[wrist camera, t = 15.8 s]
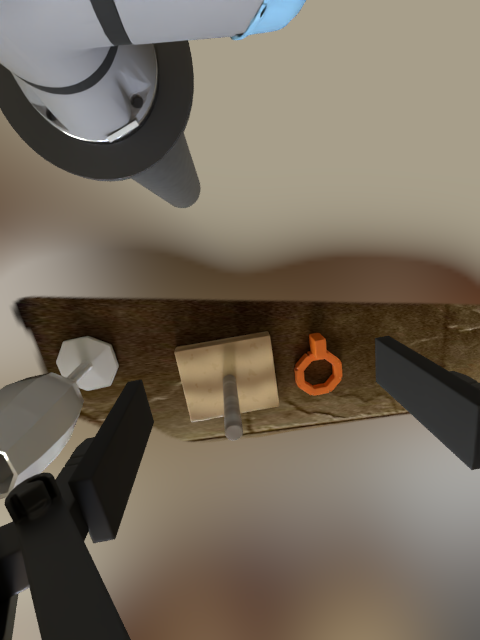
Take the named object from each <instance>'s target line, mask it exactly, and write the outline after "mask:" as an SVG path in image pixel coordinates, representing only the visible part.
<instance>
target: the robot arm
mask: <svg viewBox="0 0 480 640" xmlns="http://www.w3.org/2000/svg"><path fill="white" fill-rule="evenodd" d="M305 1H306V0H0V64H2V65H3V66H4V67H6V68H7V69H8V70H10V71H11V73H12V74H13V76H14V78H15V80H16V81H17V83H18V85H19V86H20V88H21V90H22V91H23V93H24V94H25V96H26V98H27V99H28V100H29V102H30V103H31V104H32V105H33V107H34V108H35V109H36V110H37V111H38V112H39V113H40V114H41V115H42V116H43V117H44V118H45V119H46V120H47V121H48V122H49V123H50V124H52V125H53V126H54V127H56V128H57V129H59V130H60V131H62V132H63V133H65V134H67V135H68V136H70V137H72V138H74V139H77V140H79V141H82V142H85V143H90V144H97V145H106V144H113V143H117V142H120V141H123V140H125V139H127V138H129V137H131V136H132V135H134V134H135V133H136V132H137V131H138V130H140V129H141V128H142V126H143V125H144V124H145V123H146V121H147V120H148V118H149V117H150V115H151V113H152V111H153V109H154V106H155V103H156V100H157V96H158V91H159V65H158V59H157V55H156V51H155V48H154V44H153V43H162V42H174V41H185V40H197V39H209V38H221V37H231V39H233V40H241V39H243V38H245V37H247V36H248V35H251V34H258V33H265V32H272V31H277V30H279V29H281V28H283V27H285V26H286V25H287V24H288V23H289V22H290V21H291V19H292V18H294V17H295V16H296V15H297V14H298V13H299V11H300V10H301V8H302V6H303V5H304V3H305ZM375 353H376V382H377V383H378V384H379V385H380V386H381V387H382V388H384V389H385V390H386V391H387V392H388V393H389V394H390V395H391V396H392V397H393V398H394V399H395V400H396V401H398V402H399V403H400V404H401V405H402V406H403V407H404V408H405V409H406V410H407V411H408V412H409V413H411V414H412V415H413V416H414V417H415V418H416V419H417V420H418V421H419V422H420V423H421V424H423V425H424V426H425V427H426V428H427V429H428V430H429V431H430V432H431V433H432V434H433V435H434V436H435V437H437V438H438V439H439V440H440V441H441V442H442V443H443V444H444V445H445V446H446V447H447V448H449V449H450V450H451V451H452V452H453V453H454V454H455V455H456V456H457V457H458V458H459V459H460V460H461V461H463V462H464V463H465V464H466V465H467V466H468V467H469V468H470V469H471V470H474V469H479V468H480V383H478V382H477V381H476V380H474V379H472V378H470V377H468V376H467V375H464V374H461V373H458V372H455V371H450V372H449V371H447V370H446V369H444V368H442V367H440V366H439V365H437V364H435V363H434V362H432V361H430V360H429V359H427V358H425V357H424V356H422V355H420V354H418V353H417V352H415V351H413V350H412V349H410V348H408V347H407V346H405V345H403V344H402V343H400V342H398V341H396V340H395V339H393V338H391V337H390V336H385V337H379V338H375ZM153 423H154V420H153V417H152V414H151V410H150V407H149V403H148V400H147V396H146V393H145V389H144V386H143V382H142V380H137V381H131V382H128V383H127V384H126V386H125V388H124V389H123V391H122V393H121V394H120V396H119V398H118V399H117V401H116V403H115V404H114V406H113V408H112V409H111V411H110V413H109V414H108V416H107V418H106V419H105V421H104V423H103V424H102V426H101V428H100V429H99V431H98V433H97V434H96V436H95V437H93V438H87V439H86V440H84V441H83V442H82V443H81V444H80V445H79V446H78V447H77V448H76V449H75V451H74V452H73V454H72V455H71V457H70V459H69V460H68V461H67V463H66V464H65V467H63V469H62V471H61V472H60V473H59V475H58V477H57V478H56V480H55V479H54V477H53V475H52V474H50V473H40V474H36V475H34V476H32V477H30V478H27V479H26V480H24V481H23V482H21V483H20V484H18V485H17V486H16V487H15V488H14V489H13V490H12V491H11V492H10V493H9V494H8V496H7V497H6V499H5V506H6V508H7V510H8V512H9V514H10V516H11V518H12V519H13V522H11V523H8V524H6V525H4V526H1V527H0V640H12V634H13V627H14V620H15V613H16V606H17V599H18V593H20V592H22V591H24V590H25V589H28V588H30V591H31V595H32V600H33V604H34V608H35V613H36V617H37V621H38V625H39V630H40V634H41V638H42V640H131V639H130V637H129V635H128V633H127V631H126V629H125V627H124V624H123V622H122V620H121V618H120V616H119V614H118V612H117V610H116V608H115V606H114V604H113V602H112V599H111V597H110V595H109V593H108V591H107V589H106V587H105V585H104V583H103V581H102V578H101V576H100V574H99V572H98V570H97V568H96V566H95V564H94V562H93V560H92V557H91V555H90V554H89V551H88V549H87V547H86V545H85V543H84V540H85V538H86V536H87V533H88V532H89V534H90V536H91V539H92V541H93V543H97V542H102V541H108V540H113V539H115V538H116V535H117V532H118V529H119V526H120V523H121V520H122V517H123V514H124V510H125V508H126V505H127V502H128V499H129V495H130V493H131V490H132V487H133V484H134V481H135V478H136V474H137V472H138V468H139V466H140V462H141V460H142V457H143V454H144V450H145V447H146V445H147V441H148V438H149V435H150V432H151V429H152V426H153Z"/></svg>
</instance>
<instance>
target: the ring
mask: <svg viewBox="0 0 480 640" xmlns="http://www.w3.org/2000/svg"><path fill="white" fill-rule="evenodd" d="M309 341H310V351H308V352H307V354H308V355H307V354H306V353H305V354H304V355H303V356H302V357H301V358H300V360H299V361H298V362H297V363H296V364H295V366H296V367H295V368H294V372H295V381H296V383H297V385H298V387H299V388H301V389H302V390H304V391H305V392H307V393H308V394H310V395H312V394H313V395H319V394H325V393H329V390H330V391H332V390H333V389H334V388H335V387H336V385H337V384H338V383H339V382H340V381H341V380H342V379H341V377H342V363H341V362H340V360H339V359H338V358H337V357H336V356H335V355H333V354H332V353H330V352H329V351H328V350H326V339H325V338H324V337H323V336H322V335H321V334H320V333H313V334H309ZM320 359H326V360H327V361H329V362H330V363H331V364H332V375H331V376H330V377H329V378H328V379H327V381H326V382H325V383H323V384H317V385H311V384H309V383H308V382H306V381H305V380H304V370H305V369H306V368H307V366H308V365H309V364H310V363H311V362H312V361H315V360H320Z"/></svg>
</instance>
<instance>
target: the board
mask: <svg viewBox="0 0 480 640" xmlns="http://www.w3.org/2000/svg"><path fill="white" fill-rule="evenodd" d="M175 356H176V360H177V364H178V369H179V373H180V377H181V381H182V385H183V389H184V393H185V397H186V401H187V406H188V410H189V414H190V418H191V422H194V421H200V420H205V419H211V418H216V417H222V416H224V423H225V435H226V437H227V438H228V439H230V440H237V439H239V438H240V437H241V436H242V434H243V428H242V421H241V413H244V412H249V411H254V410H260V409H265V408H271V407H276V406H279V399H278V392H277V384H276V377H275V369H274V362H273V354H272V347H271V339H270V335H269V333H268V331H265V332H260V333H254V334H248V335H243V336H237V337H231V338H225V339H220V340H214V341H208V342H203V343H197V344H191V345H185V346H180V347H176V350H175Z"/></svg>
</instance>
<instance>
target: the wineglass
mask: <svg viewBox="0 0 480 640" xmlns="http://www.w3.org/2000/svg"><path fill="white" fill-rule="evenodd" d="M56 363H57V365H58V368H59V370H60V372H61V375H62V376H60V375H58V374H55V373H52V372H51V373H47V374H43V375H38V376H34V377H29V378H26V379H23V380H21V381H18V382H15V383H12V384H9V385H6V386H5V387H3V388H2V389H1V390H0V499H2V498H6V497H7V496H8V494H9V493H10V492H11V491H12V490H13V489H14V488H15V487H16V486H17V485H18V484H20V483H21V482H23V481H24V480H26V479H27V478H30V477H32V476H34V475H36V474H40V473H41V472H42V471H43V470H44V469H45V468H46V467H47V466H48V465H49V464H50V463H51V462H52V461H53V460H54V459H55V458H56V457H57V456H58V455H59V453H60V452H61V450H62V449H63V448H64V446H65V445H66V443H67V442H68V441H69V439H70V437H71V435H72V432H73V430H74V427H75V425H76V422H77V419H78V417H79V414H80V411H81V408H82V405H83V402H84V400H83V397H82V395H81V393H80V390H79V388H82V389H84V390H87V391H88V390H93V389H97V388H102V387H107V386H110V385H111V384H112V382H113V379H114V377H115V374H116V372H117V369H118V367H119V364H118V361H117V358H116V356H115V353H114V350H113V347H112V345H111V344H109V343H106V342H103V341H101V340H98V339H96V338H93V337H91V336H85V337H80V338H75V339H71V340H66V341H64V342H63V344H62V347H61V350H60V353H59V356H58V358H57V361H56ZM78 387H79V388H78Z"/></svg>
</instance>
